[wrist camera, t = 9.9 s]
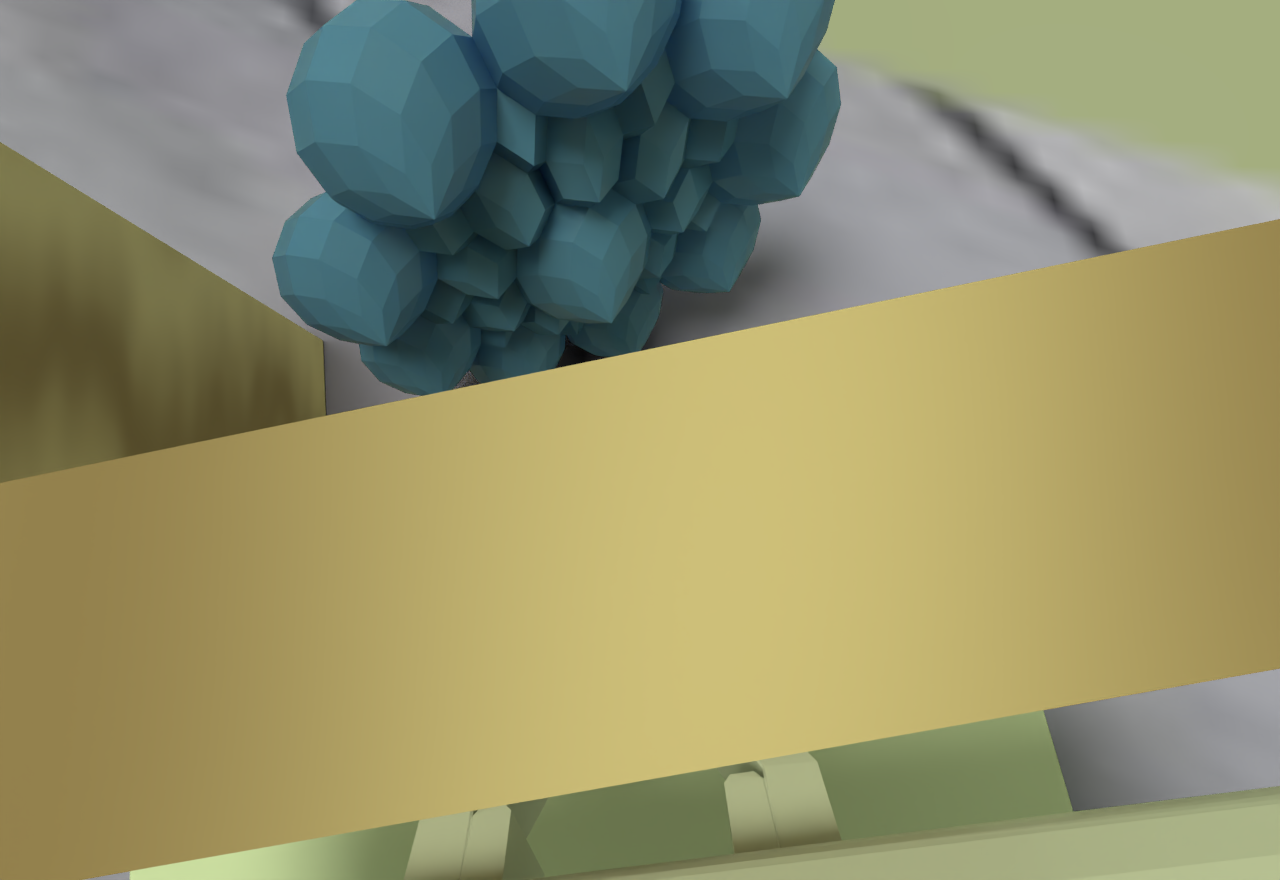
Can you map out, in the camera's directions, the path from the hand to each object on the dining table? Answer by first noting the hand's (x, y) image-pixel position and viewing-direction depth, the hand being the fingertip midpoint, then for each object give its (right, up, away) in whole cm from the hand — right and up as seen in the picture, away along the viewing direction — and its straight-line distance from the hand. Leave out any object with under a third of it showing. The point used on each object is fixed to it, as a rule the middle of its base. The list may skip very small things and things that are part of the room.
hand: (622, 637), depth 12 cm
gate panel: (-1, 0, +3) cm, 4 cm away
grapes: (-1, +8, +6) cm, 10 cm away
